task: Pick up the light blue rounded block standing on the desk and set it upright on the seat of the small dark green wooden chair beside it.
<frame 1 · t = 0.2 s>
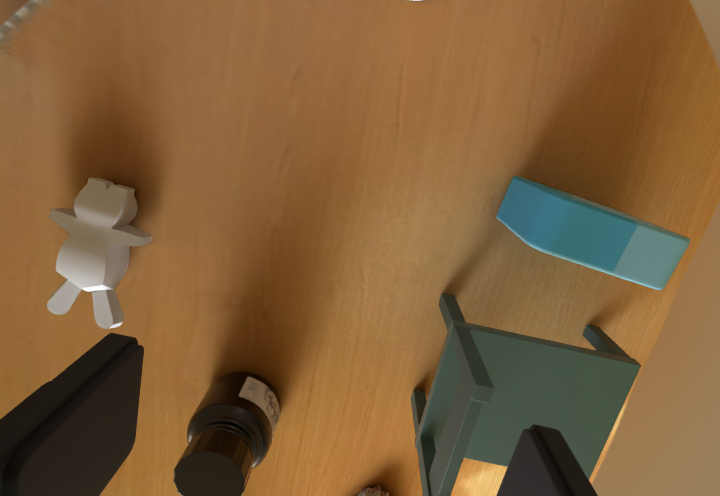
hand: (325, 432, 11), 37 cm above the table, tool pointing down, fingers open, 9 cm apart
bunny figurine: (111, 246, 49), on the table
ink bottle: (245, 401, 54), on the table
light blue rounded block: (554, 212, 46), on the table
chair: (501, 364, 51), on the table
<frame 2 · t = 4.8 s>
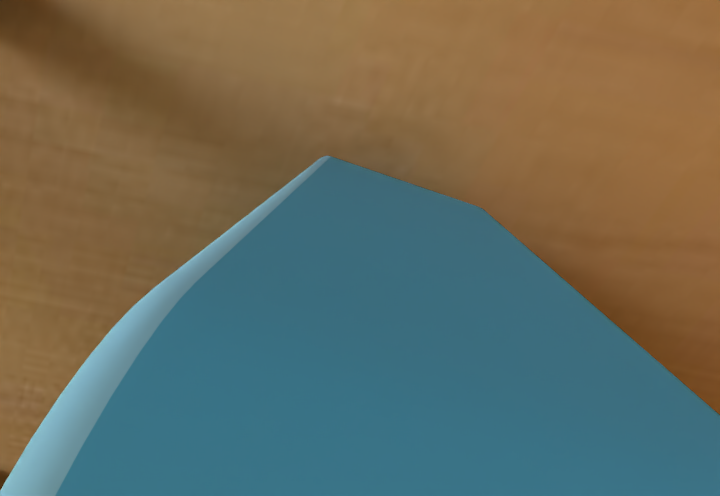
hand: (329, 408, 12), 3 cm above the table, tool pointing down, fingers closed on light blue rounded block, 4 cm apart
light blue rounded block: (338, 348, 15), on the table, touching gripper
when the fingers open (11 cm above the table, at t = 12.1 s): light blue rounded block stays where it is, resting on chair.
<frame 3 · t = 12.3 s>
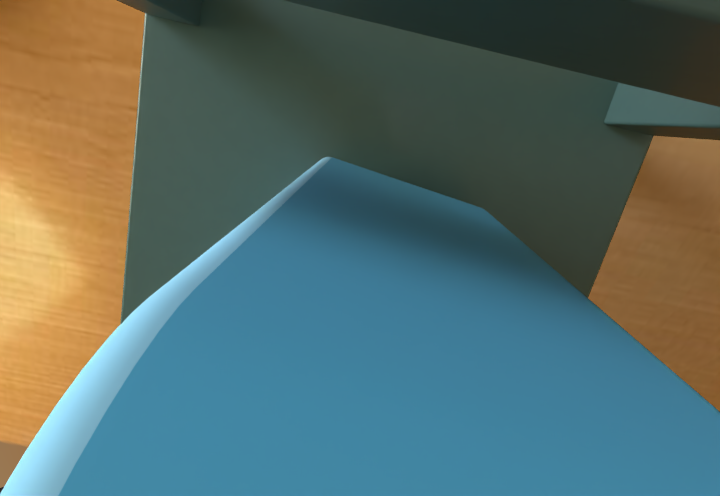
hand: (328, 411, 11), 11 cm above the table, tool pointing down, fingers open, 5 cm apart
light blue rounded block: (340, 350, 15), point 8 cm above the table, touching chair
chair: (355, 251, 22), on the table
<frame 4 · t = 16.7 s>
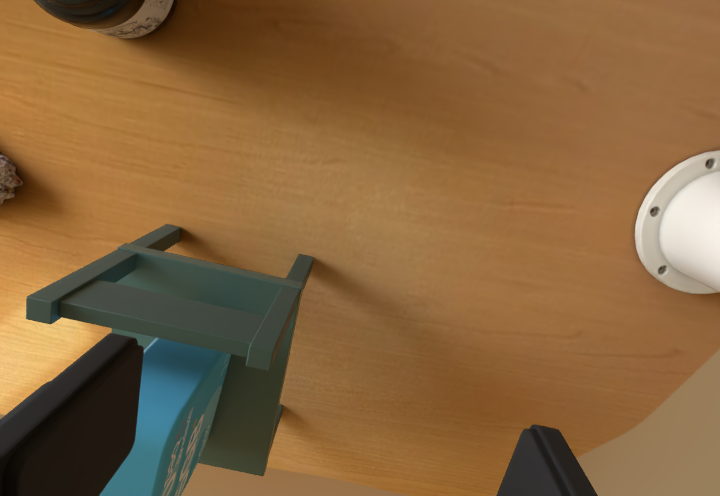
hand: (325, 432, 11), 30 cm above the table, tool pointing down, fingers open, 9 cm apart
light blue rounded block: (196, 380, 36), point 8 cm above the table, touching chair
chair: (227, 326, 44), on the table
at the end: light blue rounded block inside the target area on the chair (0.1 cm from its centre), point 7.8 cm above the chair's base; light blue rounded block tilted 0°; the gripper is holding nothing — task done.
